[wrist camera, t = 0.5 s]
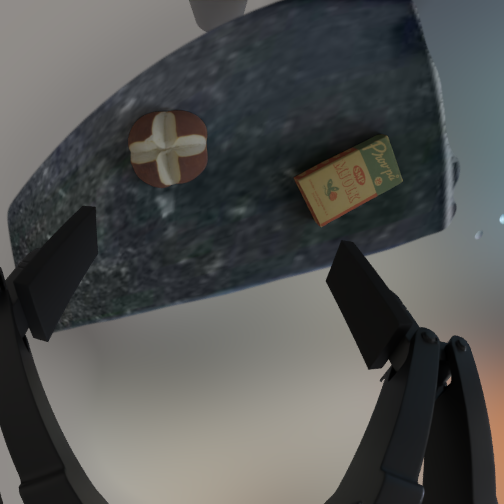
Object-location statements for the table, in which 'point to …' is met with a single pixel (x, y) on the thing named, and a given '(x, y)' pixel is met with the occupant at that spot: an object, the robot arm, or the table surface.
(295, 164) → the table surface
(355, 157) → the carton
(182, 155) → the bread
